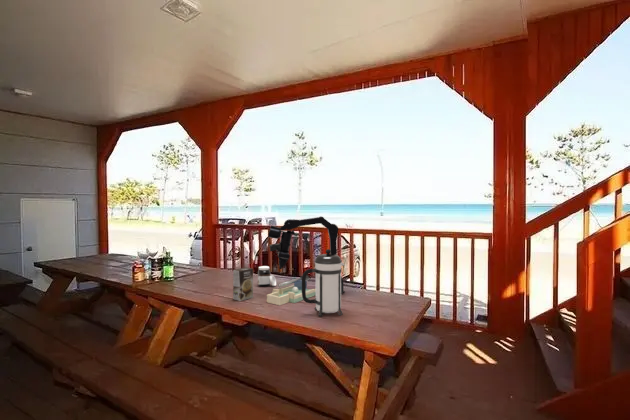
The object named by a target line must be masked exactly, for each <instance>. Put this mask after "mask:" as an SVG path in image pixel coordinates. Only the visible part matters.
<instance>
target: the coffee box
mask: <svg viewBox="0 0 630 420" xmlns="http://www.w3.org/2000/svg"><path fill="white" fill-rule="evenodd" d="M232 273H233V274H232V276H233V279H232V280H233V282H232V286H233V287H232V288H233V289H232V291H233V293H232V297H233V300H235V301H238V302H241V301H245V300H248V299H253V298H254V268H251V267H240V268H236V269H233V271H232Z"/></svg>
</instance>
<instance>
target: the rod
mask: <svg viewBox="0 0 630 420" xmlns="http://www.w3.org/2000/svg"><path fill="white" fill-rule="evenodd" d="M309 278H310V276H309V274H308V275H307V276H306V290H307V289H308V286H307V285H308V283H307V281H308V280H309ZM290 284H292V285H294V287H297V288H298V289H302V275H301V276H300V277H297V278H294V279H291V280H288V281H284V282H281V283H278V284H277V286H278V287H279V288H281V287H284V286H288V285H290Z"/></svg>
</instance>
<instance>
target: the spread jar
mask: <svg viewBox="0 0 630 420" xmlns="http://www.w3.org/2000/svg"><path fill="white" fill-rule="evenodd" d="M257 286H258V287H262V288H263V287H264V288H265V287H270V286H272V287H276V286H277V279H276V277H275V275H274V274H271V270H270V266H268V265H262V266H261V265H260V266H258V271H257Z"/></svg>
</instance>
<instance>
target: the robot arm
mask: <svg viewBox="0 0 630 420" xmlns="http://www.w3.org/2000/svg"><path fill="white" fill-rule="evenodd" d="M318 224H321V225H322V226H323V227H325V228H326V229H327V233H328V237H329V250H330V251H331V252H330V254H335V255H337V254H338V253H337V249H338V246H337V244H338V243H337V240H338V234H339V233H338V232H339V227H338V225H337V224H335V223H331V222H330V221H328V220H327V219H326V218H325V217H324V216H318V217H316V216H315V217H311V218H310V217H309V218H303V219H302V218H301V219H295V218H293V219H291V218H290V219H287V220H285V221H284V223H283V225H281V226H280V227H277V226H274V225H271V226H270V228H269V231H268V238H271V239H276V240H278V239H280V241H279V243H274V244H273V243H271V244H269V251H270V252H274V251H276V254H277V258H278V266H279V270H282V269H283V267H284V266H285V264H286V263H287V262H288V261H289V259H290V256H291V255H290V253H289V252H290V247H291V242H292V237H293V235H294V236H296V232H295V230H294V229H296V228H299V227H304V226H311V225H318ZM285 230H286V231H285ZM343 292H344V293H346V291H345V290H344V279H343V276H341V295H342V294H344V293H343Z"/></svg>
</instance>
